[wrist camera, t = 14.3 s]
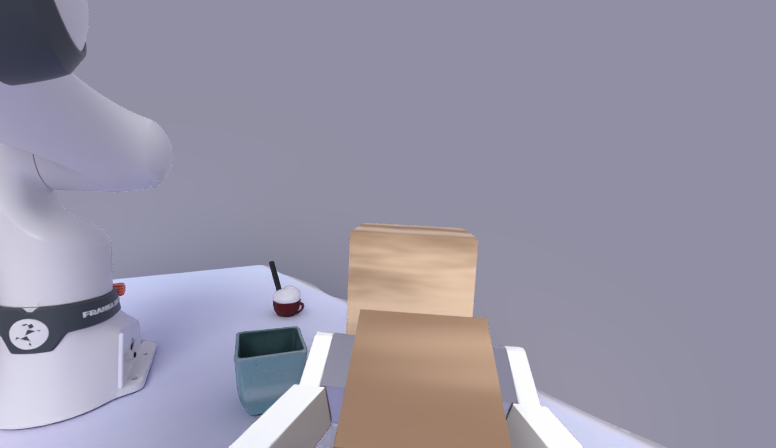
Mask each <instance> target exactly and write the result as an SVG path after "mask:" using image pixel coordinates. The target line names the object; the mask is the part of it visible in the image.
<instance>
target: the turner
mask: <svg viewBox="0 0 776 448" xmlns="http://www.w3.org/2000/svg"><path fill="white" fill-rule="evenodd" d="M334 448H511V442H510V437H509V432H508V427H507V421H506V416H505V411H504V406H503V400H502V395H501V390H500V385H499V380H498V374H497V369H496V364H495V359H494V353H493V348H492V343H491V339H490V333H489V328H488V322H487V318H476V317H462V316H448V315H434V314H420V313H406V312H392V311H378V310H364V309H360V313H359V318H358V324H357V329H356V334H355V339H354V344H353V349H352V355H351V360H350V365H349V370H348V375H347V381H346V386H345V391H344V396H343V401H342V406H341V412H340V417H339V422H338V427H337V432H336V437H335V443H334Z"/></svg>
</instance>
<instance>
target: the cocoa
mask: <svg viewBox="0 0 776 448" xmlns="http://www.w3.org/2000/svg"><path fill="white" fill-rule="evenodd" d="M269 264H270V269H271V272H272V276H273V279H274V283H275V287H276V290H277V291H276V292H275V294H274V296H273V306H274V310H275V312H276V313H277V314H278V315H279V316H282V317H289V316H293V315H294V314H297V313H299V312H300V311H302V310H303V308H304V304H303V303H302V302H300V301H301V299H300V291H299V290H298V289H297V288H296V287H294V286H286V287H284V288H283V289H281V285H280V282H279V278H278V274H277V271H276V267H275V264H274V261H271V262H269ZM300 305H302V308H301V310H299V311H298V309H299V306H300Z"/></svg>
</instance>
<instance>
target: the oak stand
mask: <svg viewBox="0 0 776 448" xmlns="http://www.w3.org/2000/svg"><path fill="white" fill-rule="evenodd" d="M350 233H351V234H350V256H349V279H348V303H347V326H346V334H351V335H355V334H356V329H357V324H358V318H359V313H360V309H364V310H378V311H392V312H406V313H420V314H434V315H448V316H462V317H472V315H473V302H474V289H475V276H476V262H477V250H478V239H477V238H476V237H474V236H473V235H471V234H470V233H468V232H467V231H465V230H464V229H462V228H461V229H460V228H445V227H426V226H409V225H393V224H376V223H364V224H362V225H360V226H359V227H357V228H355V229H354V230H352V231H351V232H350Z"/></svg>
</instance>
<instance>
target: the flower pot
mask: <svg viewBox="0 0 776 448" xmlns="http://www.w3.org/2000/svg"><path fill="white" fill-rule="evenodd" d="M306 355H307V347H306V345H305V342H304V340H303V337H302V334H301V331H300V328H299V327H297V326H295V327H284V328H275V329H266V330H256V331H245V332H239V333H237V334H236V345H235V355H234V361H235V371H236V380H237V389H238V394H239V398H240V401H241V403H242V405H243V407H244V408H245V409H246V411H247V412H248V413H249V414H250V415H258V414H263V413H265V412H266V411H267V410H268V409H269V408H270V407H271V406H272V405H273V404H274V403H275V402H276V401H277V400H278V399H279V398H280V397H281V396H282V395H284V394H285V393H286V392H287V391H288V390H289V389H290V388H291V387H292V386H293V385H294V384H296V385H299V384H300V381H301V377H302V374H303V371H304V368H305V363H306Z"/></svg>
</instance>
